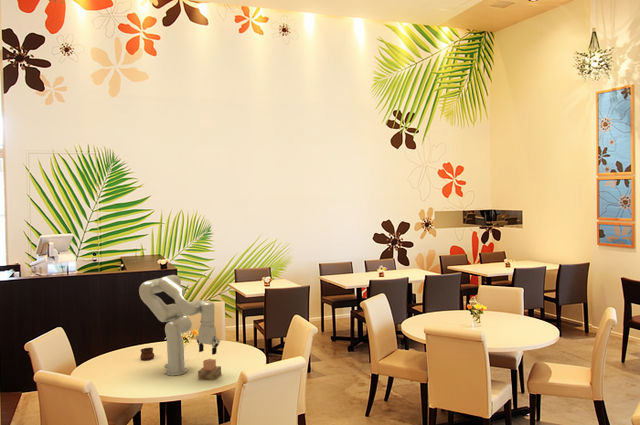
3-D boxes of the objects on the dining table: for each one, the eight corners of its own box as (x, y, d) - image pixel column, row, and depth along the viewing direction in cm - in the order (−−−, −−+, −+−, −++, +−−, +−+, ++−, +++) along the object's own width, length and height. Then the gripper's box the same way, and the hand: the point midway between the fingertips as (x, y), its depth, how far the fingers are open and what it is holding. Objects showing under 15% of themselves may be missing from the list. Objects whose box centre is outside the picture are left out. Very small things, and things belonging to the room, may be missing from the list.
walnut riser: (198, 380, 298) (198, 371, 298) (205, 374, 308) (204, 365, 308) (215, 380, 296) (214, 371, 296) (221, 374, 306) (220, 366, 306)
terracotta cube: (203, 369, 301) (203, 360, 301) (209, 367, 305) (209, 358, 305) (210, 370, 298) (209, 361, 298) (215, 368, 303) (215, 359, 303)
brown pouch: (148, 364, 330) (147, 353, 330) (126, 362, 337) (126, 351, 337) (167, 357, 346) (167, 346, 346) (146, 354, 354) (146, 344, 354)
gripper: (191, 323, 302) (191, 352, 303) (215, 326, 294) (215, 357, 295) (200, 320, 309) (200, 348, 310) (223, 324, 301) (223, 353, 301)
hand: (207, 352), depth 302 cm, fingers open, 9 cm apart
